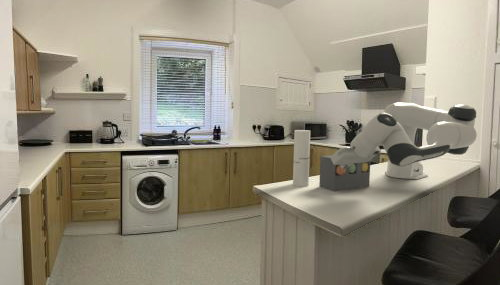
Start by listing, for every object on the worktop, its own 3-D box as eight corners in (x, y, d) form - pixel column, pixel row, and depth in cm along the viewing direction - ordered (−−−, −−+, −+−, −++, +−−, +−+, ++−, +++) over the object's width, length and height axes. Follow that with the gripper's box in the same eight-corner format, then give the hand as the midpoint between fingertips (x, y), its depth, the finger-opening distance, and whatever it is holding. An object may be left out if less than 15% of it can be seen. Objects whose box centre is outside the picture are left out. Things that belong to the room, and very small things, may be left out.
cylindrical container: (308, 187, 151) (310, 131, 149) (292, 186, 153) (293, 130, 150) (308, 183, 158) (310, 130, 156) (293, 182, 160) (295, 129, 157)
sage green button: (350, 171, 153) (350, 162, 153) (355, 172, 150) (356, 163, 150) (343, 172, 151) (344, 163, 151) (349, 173, 148) (349, 164, 148)
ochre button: (362, 170, 157) (363, 161, 157) (368, 171, 154) (368, 162, 154) (356, 170, 155) (356, 162, 155) (362, 171, 152) (362, 163, 152)
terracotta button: (340, 173, 147) (340, 164, 147) (345, 174, 145) (345, 165, 144) (333, 174, 145) (333, 165, 145) (338, 175, 143) (339, 166, 142)
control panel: (354, 182, 163) (355, 153, 162) (369, 186, 155) (370, 155, 154) (319, 187, 152) (320, 156, 151) (333, 191, 144) (335, 158, 143)
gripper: (347, 154, 126) (328, 175, 136) (383, 151, 137) (363, 171, 146) (339, 141, 130) (320, 163, 139) (375, 139, 140) (355, 159, 150)
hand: (343, 167), depth 143 cm, fingers closed
